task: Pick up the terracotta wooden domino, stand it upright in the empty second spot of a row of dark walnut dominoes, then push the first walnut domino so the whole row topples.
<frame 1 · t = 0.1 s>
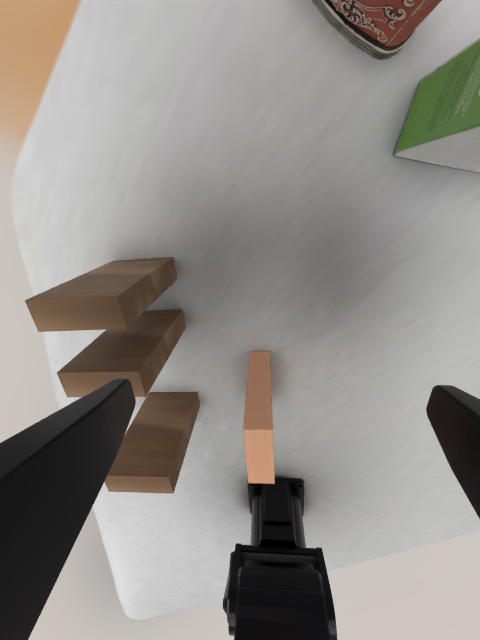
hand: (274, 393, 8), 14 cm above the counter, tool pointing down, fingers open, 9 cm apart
domino 2: (261, 373, 26), on the counter
domino 1: (174, 399, 28), on the counter
domino 3: (156, 319, 24), on the counter
domino 4: (145, 270, 22), on the counter
ink box: (457, 131, 17), on the counter
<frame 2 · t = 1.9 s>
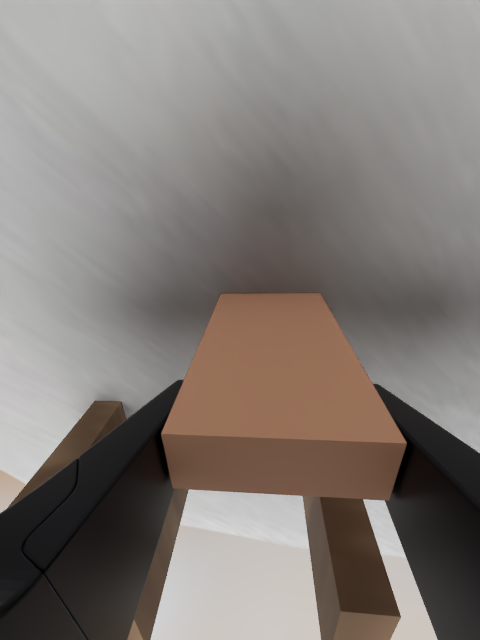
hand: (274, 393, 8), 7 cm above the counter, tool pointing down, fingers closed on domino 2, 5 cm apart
domino 2: (269, 309, 14), on the counter, touching gripper
domino 1: (314, 437, 18), on the counter
domino 3: (179, 431, 18), on the counter
domino 4: (116, 429, 19), on the counter
when the fingers open (8 cm above the counter, at t = 6.2 s): domino 2 stays where it is, on the counter.
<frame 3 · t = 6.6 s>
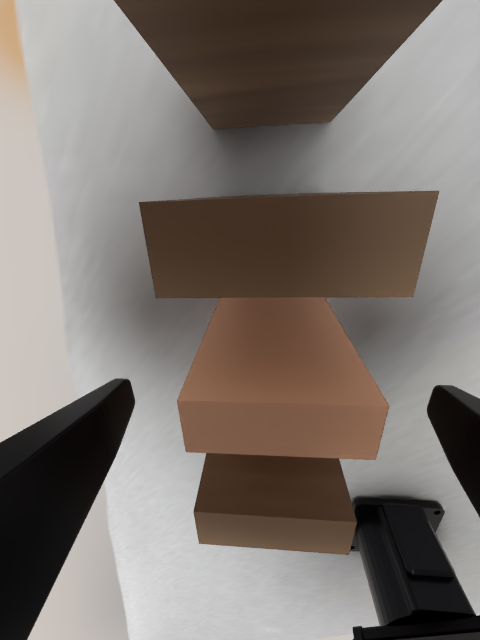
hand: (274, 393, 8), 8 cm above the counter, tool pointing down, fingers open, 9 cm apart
domino 2: (270, 302, 15), on the counter
domino 1: (268, 369, 17), on the counter
domino 3: (269, 215, 13), on the counter
domino 4: (271, 99, 11), on the counter
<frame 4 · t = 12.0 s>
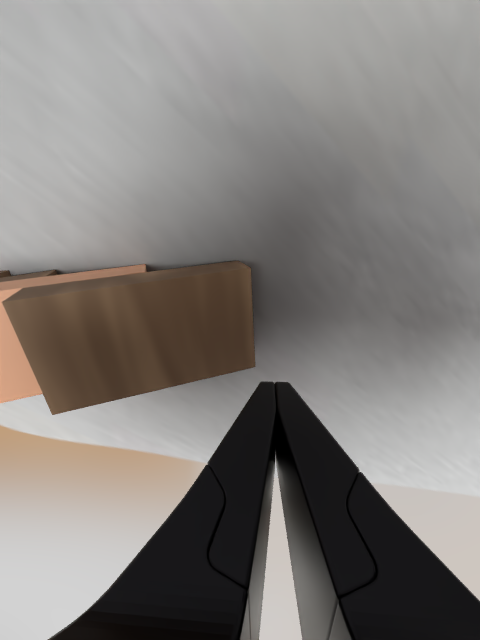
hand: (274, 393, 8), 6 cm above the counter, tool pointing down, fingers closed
domino 2: (155, 316, 14), point 1 cm above the counter, tilted 68°, touching domino 1, domino 3
domino 1: (246, 314, 13), point 1 cm above the counter, tilted 68°, touching domino 2
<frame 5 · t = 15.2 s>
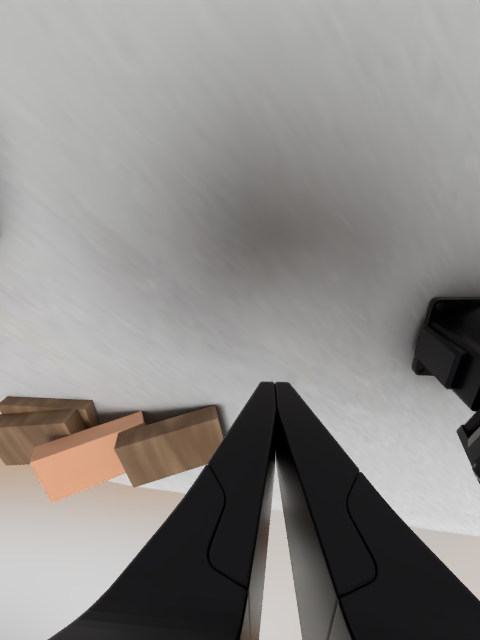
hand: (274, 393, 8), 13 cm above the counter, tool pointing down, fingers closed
domino 2: (148, 436, 27), point 1 cm above the counter, tilted 61°, touching domino 3
domino 1: (221, 431, 26), point 1 cm above the counter, tilted 73°
domino 3: (81, 435, 26), point 2 cm above the counter, tilted 90°, touching domino 2, domino 4
domino 4: (96, 421, 27), on the counter, tilted 90°, touching domino 3
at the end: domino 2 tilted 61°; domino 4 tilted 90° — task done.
